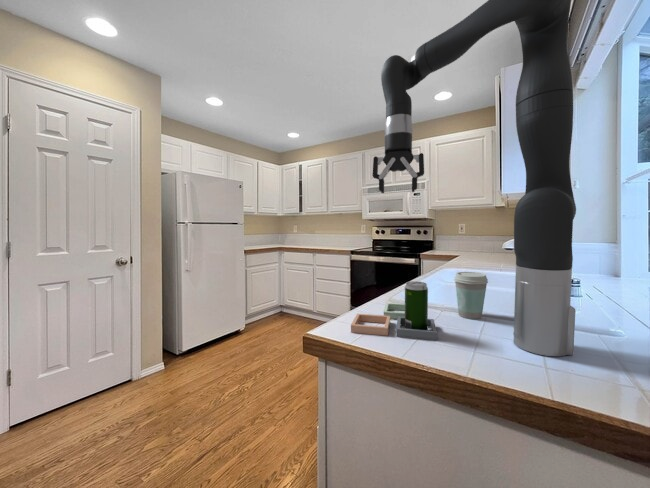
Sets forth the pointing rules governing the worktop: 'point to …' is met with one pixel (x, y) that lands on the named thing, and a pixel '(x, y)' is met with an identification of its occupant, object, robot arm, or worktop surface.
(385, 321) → the terracotta frame
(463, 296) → the coffee cup
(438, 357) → the worktop surface
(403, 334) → the charcoal frame
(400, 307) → the sage frame
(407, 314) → the beer can
